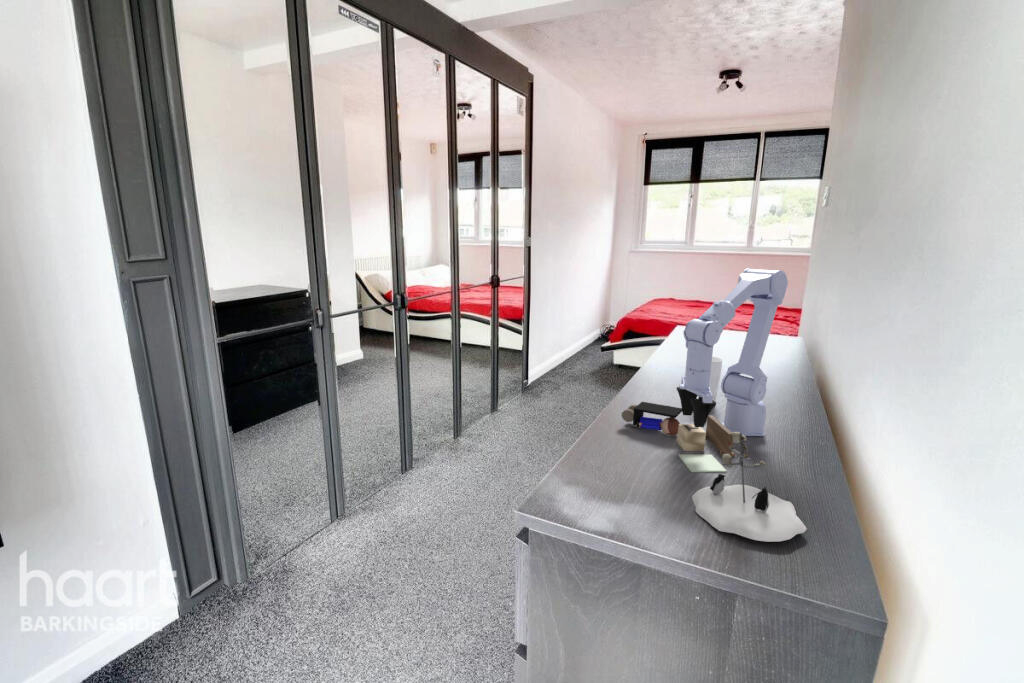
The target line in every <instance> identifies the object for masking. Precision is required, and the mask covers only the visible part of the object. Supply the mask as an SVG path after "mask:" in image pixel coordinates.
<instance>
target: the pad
mask: <svg viewBox="0 0 1024 683" xmlns="http://www.w3.org/2000/svg"><path fill="white" fill-rule="evenodd" d="M678 458H680V461H682V462H683V464H684V465H685V467H687V469H688V471H690V472H691V473H727V469H725V466H723V465H722V464H721V462H720V461H718V460H717V458H715V457H714V455H712V454H682V453H681V454H678Z"/></svg>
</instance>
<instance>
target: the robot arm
mask: <svg viewBox="0 0 1024 683" xmlns="http://www.w3.org/2000/svg"><path fill="white" fill-rule="evenodd" d="M788 285H789V280H788V277H787V274H786V272H785V271H784V270H782V269H781V270H780V269H778V270H775V269H773V270H771V269H756V268H751V267H747V268H745V269H744V270H743V271H742V272H741V273H740V274H739V275H738V281H737V284H736V286H734V288H733V289H732V290H731V292H729V294H728V295H727V296H726V297H725V298H724V300H723V299H721V300H720V299H719V300H715V301H714V302H713V303H712V305H711V306H709V307H708V309H707V310H705V312H703V314H701V315H700V316H699V317H698V318H692V320H689V321H688V322H687V323H686V325H685V327H684V330H683V331H682V332H683V338H684V340H685V348H686V349H687V351H686V361H685V362H686V363H685V372H684V373H685V374H684V376H682V377H681V380H680V381H681V382H680V384H679V386H677V387H676V391H677V393H678V396H679V399H680V400H679V401H680V405H681V408H682V412H681V413H682V415H683V416H692V415H693V424H694V426H695V427H701V428H704V427H705V425H706V424H707V418H708V415H710V413H711V411H713V409H714V408H715V407H716V405H717V402H716V401H714V400H713V395H712V394H711V391H710V387H709V382H710V372H711V363H712V357H713V352H714V345H716V344H717V343H718V342H719V340H720V338H721V335H722V333H723V330H724V328H725V327H726V326H727V325H728V324H729V323H731V321H732V320H733V319H735V317H736V310H737V309H738V308H739V307H740V306H741V305H743V304H744V303H745V302H747V300H748V301H749V302H751V303H752V304H753V306H754V308H753V313H752V314H751V318H750V323H749V325H748V328H747V332H746V335H745V339H744V342H743V346H742V349H741V353H740V356H739V359H738V362H737V363H735V364H732V365H729V367H727V371H726V373H725V374H724V376H723V377H722V380H721V382H720V389H721V393H723V394H724V398H726V402H725V404H726V405H725V413H724V421H723V422H721V423H722V424H723V425H724V426H725V427H726V428H728V429H729V430H730V431H731V432H732V433H733V432H740V433H742V435H744V436H746V437H765V436H766V434H765V433H764V431H765V426H766V425H765V424H766V417H767V408H766V405H765V403H764V402H763V399H764V398H765V396H766V393H767V383H768V376H767V375H766V374H765V373H764V371H763V370H762V369H761V368H760V366H761V363H762V360H763V357H764V352H765V349H766V347H767V346H766V345H767V343H768V340H769V336H770V332H771V329H772V326H773V322H774V319H775V316H776V314H777V309H778V307H779V305H782V304H783V302H784V298H785V295H786V292H787V289H788V287H789V286H788ZM744 375H746V376H744ZM748 376H750V377H748ZM698 396H699V399H697V398H698Z"/></svg>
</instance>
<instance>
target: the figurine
mask: <svg viewBox="0 0 1024 683" xmlns="http://www.w3.org/2000/svg"><path fill="white" fill-rule="evenodd" d="M732 436H733V445H732V444H730V442H729V441H728V442H729V445H731V446H730V448H729V449H730V450H731V451H732V452H733V453H735V455H736V456H737V457H739V458H740V459H739V462H733V463H732V461H733V459H732V458H733V457H731V456H730V454H724V455H723V456H721V458H722V464H721V465H722V466H723V467H725V466H727V467H728V466H740V467H741V480H742V482H741V483H742V484H733V485H726V486H725V477H726V475H724V474H722V473H721V474H718V475H717V477H715V478H714V479H713V481H712V485H711V486H705V487H703V488H700V489H698V490H697V491H695V493H694V494H693V495H691V499H692V502H693V504H694V506H695V512H696V514H698V516H700V517H701V518H702V519H704V520H705V521H706V522H707V523H709V524H710V526H712V527H714V528H715V529H716V530H717V531H719V532H724V533H729V534H735V535H738V536H741V537H743V538H746V539H750V540H754V541H760V542H768V543H769V542H784V541H787V540H791V539H792V538H794V537H796V535H799V534H804V533H805V532H806V531H807V527H806V526H805V523H804V522H803V521H802V520H801V519H800V517H798V516H797V514H796V513H797V512H796V509H795V506H794V504H793V503H792V502H791V501H788V500H784V499H782V498H780V497H778V496H776V495H774V494H772V493H770V492H768V489H767V486H764V487H762V488H761V489H759V488H758V487H756V486H751V485H747V484H745V473H744V472H745V471H744V467H745V468H746V469H749V467H753V468H755V469H756V468H757V467H760V466H765V465H766V464H765V462H764V461H763V460H760V461H759V463H753V464H745V463H744V459H745V460H746V461H747V460H751V458H750V457H749V454H750V452H749V448H748V447H747V445H746V444H745V442H747V436H744V435H742V433H740V432H733V435H732ZM734 443H735V444H739V445H740V447H739V449H740V451H739V450H737V449H735V448H734ZM744 450H745V451H747V452H745V451H744ZM736 456H735V457H734V460H736V459H737V457H736ZM755 466H756V467H755Z"/></svg>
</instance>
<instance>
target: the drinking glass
mask: <svg viewBox="0 0 1024 683" xmlns="http://www.w3.org/2000/svg"><path fill="white" fill-rule="evenodd" d="M722 370H723V359H722V358H720V357H718V356H717V357H716V356H712V363H711V372H710V382H709V387H710V391H711V394H712V395H713V400H714V401H715V402H716V401H717V399H716V398H717V394H718V388H719V386H720V380H721V376H722V375H721V374H722ZM696 399H699V396H697V398H696Z"/></svg>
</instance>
